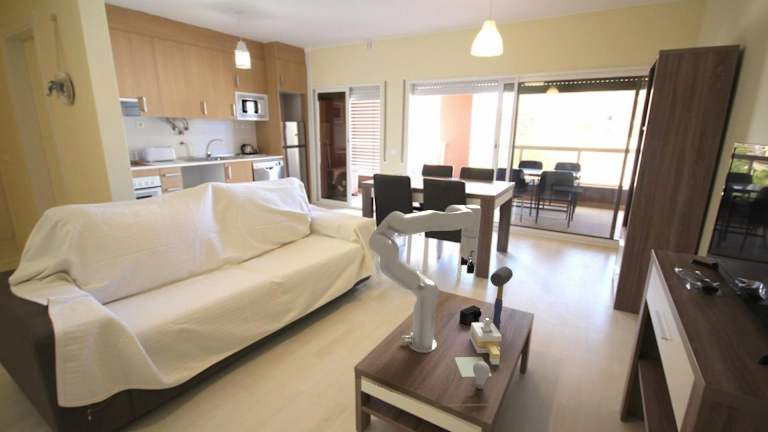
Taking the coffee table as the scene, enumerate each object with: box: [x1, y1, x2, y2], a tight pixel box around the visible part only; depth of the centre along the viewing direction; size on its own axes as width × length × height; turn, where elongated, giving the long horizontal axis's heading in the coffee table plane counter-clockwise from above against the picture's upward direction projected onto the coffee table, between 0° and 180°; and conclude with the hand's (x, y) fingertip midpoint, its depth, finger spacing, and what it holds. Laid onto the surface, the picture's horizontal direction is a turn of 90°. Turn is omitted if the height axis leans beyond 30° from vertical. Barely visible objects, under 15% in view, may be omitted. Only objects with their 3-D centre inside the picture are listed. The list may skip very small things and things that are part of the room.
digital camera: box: [459, 305, 482, 327], centre depth 178 cm, size 10×5×7 cm, turn 126°
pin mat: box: [454, 356, 492, 378], centre depth 145 cm, size 12×12×1 cm
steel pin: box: [482, 315, 493, 333], centre depth 157 cm, size 4×4×14 cm
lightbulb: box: [473, 361, 491, 390], centre depth 132 cm, size 6×6×11 cm
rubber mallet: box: [489, 266, 514, 327], centre depth 173 cm, size 12×8×30 cm, turn 141°
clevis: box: [469, 322, 503, 366], centre depth 154 cm, size 10×19×8 cm, turn 3°
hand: (467, 269), depth 160 cm, fingers open, 9 cm apart
